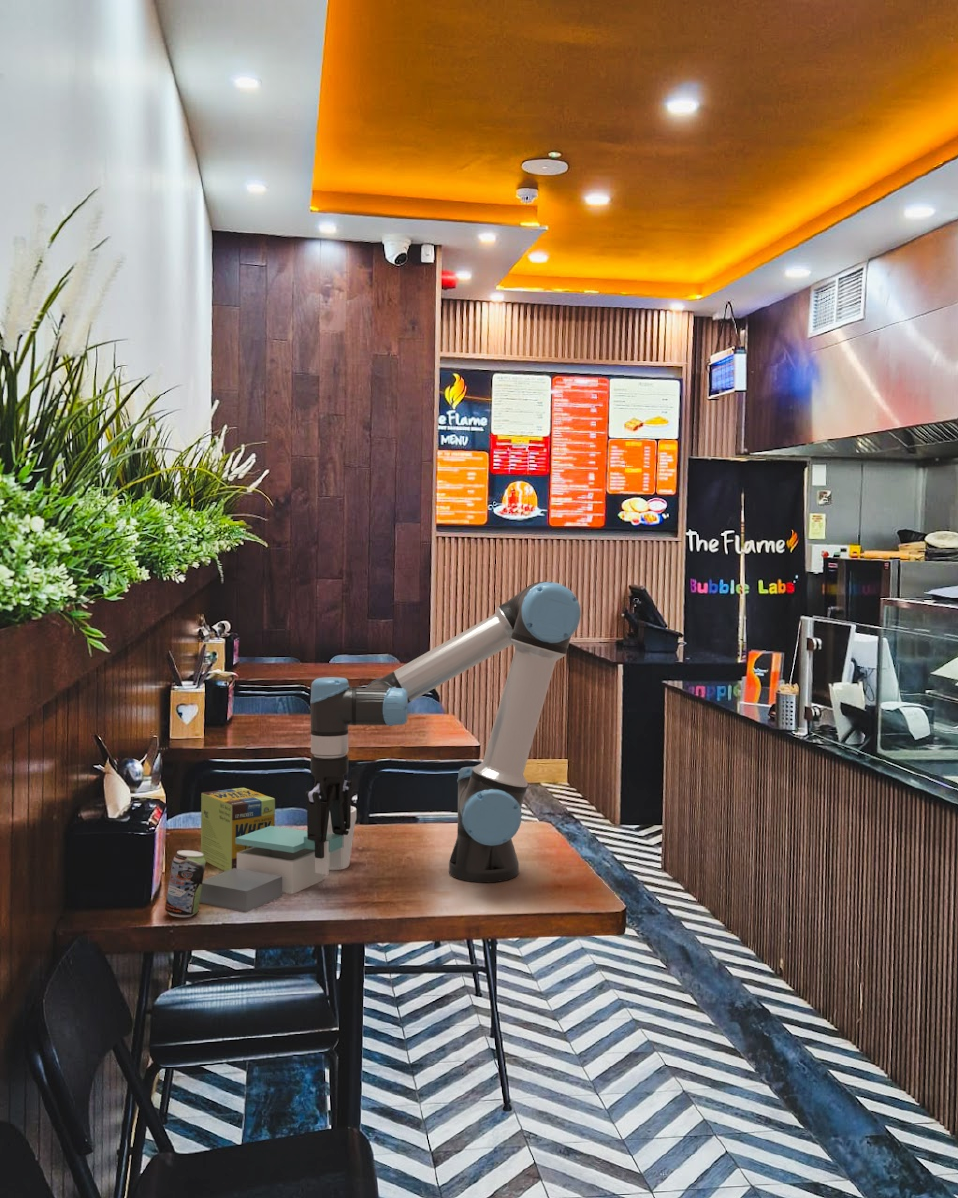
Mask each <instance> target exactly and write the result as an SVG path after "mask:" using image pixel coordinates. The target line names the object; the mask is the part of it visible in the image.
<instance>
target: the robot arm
mask: <svg viewBox="0 0 958 1198" xmlns="http://www.w3.org/2000/svg"><path fill="white" fill-rule="evenodd" d="M581 614H582V613H581V607H580V603H579V601H578V598H577V597H576V595H575V594H574V592H572V590H570V588H568V587H567V586H565V585H564V584H560V583H559V582H552V581H538V582H533V583H532V584H531V583H530V584H529V585H528V586H526V587H525V588H524V589H522V590H521V591H520V592H518V593H517V594H516V595H514V596H513V597H511V598H510V599H509V600H506V602H504V603H502V604H501V605H499V606H497V607H496V611H495V613H494V614H492V615H491V616H489V617H486V618H485V619H484V620H481V621H479V622H478V623H476V624H475V625H473V626H471V627H469V628H468V629H467V628H466V630H463V631H462V632H460V633H458V634H457V635H456V636H453V637H451V638H450V639H448V640H446V641H445V642H443V643H441V644H440V645H437V646H436V647H433V648H432V649H431V650H428V651H426V652H425V653H424V654H421V655H420V656H418V657H416V658H414V659H413V660H411V661H409V662H407V663H405V664H404V665H402V666H400V667H398V668H397V669H395V670H394V671H393V672H390V673H388V674H386V675H385V676H383V677H381V678H376V679H375V680H373V681H371V682H369V684H367V686H366V687H361V688H360V687H350V685H349V680H348V679H347V678H346V677H336V676H332V677H331V676H330V677H329V676H328V677H327V676H325V677H318V678H315V679H314V680H313V681H312V682H311V686H310V700H309V702H310V703H309V704H310V753H311V754H312V755H311V757H310V774H311V775H312V776H313V777H314V784H313V789H312V790H306V791H305V792H304V793H305V794H304V795H305V796H304V797H305V800H306V815H307V816H306V821H307V822H306V824H307V825H306V828H307V829H306V831H307V839H308V840H311V841H314V842H315V873H319V874H324V876H325V875H326V876H327V875H329V873H330V870H329V841H326V836H327V828H328V820H329V812H330V816H331V824H332V831H333V833H334V834H336V835H343V847H344V835H348V833H349V831H347V829H350V821H351V806H352V803H351V801H352V800H351V799H352V795H351V794H352V789H353V784H354V783H353V781H352V780H345V776H346V775H347V774H348V773H349V756H348V755H347V754H348V753H349V726H388V727H392V726H403V725H405V724H407V722H408V704H409V703H412V702H413V701H415V700H416V699H418V698H420V697H422V696H423V695H425V694H427V693H429V692H430V691H432V690H433V689H436V688H438V687H439V686H441V685H443V684H445V683H446V682H448V681H450V680H452V679H454V678H456V677H457V676H459V675H460V674H463V673H465V671H468V670H470V669H472V668H473V667H475V666H476V665H479V664H480V663H482V662H484V661H486V660H487V659H489V658H491V657H492V656H495V655H496V654H498V653H500V652H502V651H503V650H505V649H507V648H508V647H510V646H513V647H514V653H513V656H512V660H511V664H510V667H509V671H508V674H507V677H506V680H505V684H504V688H503V690H502V694H501V697H500V701H499V705H498V708H497V711H496V715H495V719H494V721H493V725H492V729H491V732H490V735H489V739H488V742H487V746H486V749H485V753H484V756H483V759H482V762H481V763H479V764H477V765H475V766H465V767H461V768H460V769H459V770H458V775H457V777H458V778H457V779H456V782H457V834H456V836H457V837H456V841H455V843H454V846H453V849H452V853H451V855H450V859H449V860H448V861H449V862H448V873H449V875H450V876H452V877H453V878H456V879H458V880H462V881H467V882H473V883H474V882H475V883H494V882H495V883H496V882H504V881H508V880H511V879H514V878H516V877H517V876H518V875H519V873H520V872H519V871H520V869H519V865H520V863H519V860H518V859H519V858H518V856H517V853H516V850H515V846H514V842H513V840H512V838H513V837H514V836H515V835H516V834H517V833H518V831H519V829H520V826H521V824H522V816H523V813H522V808H523V807H522V806H523V803H524V799H525V796H526V792H527V789H528V786H529V783H528V781H527V779H526V778H525V775H524V772H525V768H526V765H527V762H528V758H529V756H530V752H531V749H532V745H533V741H534V737H535V734H536V731H537V728H538V724H539V720H540V717H541V714H542V710H543V708H544V707H543V706H544V703H545V700H546V698H547V692H548V691H549V686H550V683H551V679H552V675H553V673H554V669H555V666H556V663H557V661H558V660H560V659H562V658H563V657H566V655H567V651H568V648H569V645H570V641H571V637H572V636H573V635H574V633H575V632H576V631H577V628H578V627H579V624H580V622H581ZM343 847H342V848H339V849H337V850H334V851H332V852H330V867H336V868H343Z"/></svg>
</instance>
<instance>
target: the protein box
mask: <svg viewBox="0 0 958 1198" xmlns="http://www.w3.org/2000/svg"><path fill="white" fill-rule="evenodd" d="M200 797H201V799H200V800H201V801H200V802H201V804H200V805H201V806H200V809H201V811H200V814H201V815H200V852H201V853H203V854H204V855H203V857H204V859H205V861H206V863H208V864H209V865H212V866H214V867H216V868H218V869H219V870H222V871H223V872H225V871H228V870H230V869H233V868H237V853H238V852H240V851H243V850H246V849H249V848H251V846H246V845H240V844H235V838H237V837H240V836H243V835H245V834H248V833H251V832H254V831H257V830H260V829H263V828H266V827H268V826H275V824H276V822H275V821H276V816H275V815H276V798H274V797H271V796H268V795H265V794H263V793H260V792H257V791H254V790H251V789H249V788H246V787H238V788H229V789H222V790H213V791H212V790H211V791H203V792H201V796H200Z"/></svg>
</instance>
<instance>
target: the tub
mask: <svg viewBox="0 0 958 1198" xmlns="http://www.w3.org/2000/svg"><path fill="white" fill-rule="evenodd" d="M237 869H243V870H249V871H254V872H260V873H266V874H272V875H277V876H282V894H290V895H294V894H296V893H298V892H300V891H303V890H305V889H307V888H311V886H313V885H316V884H319V883H320V882H321V883H322V881H324V880H325V874H319V873H315V850H311V849H305V848H304V849H302V850H299V851H297V852H294V853H290V852H283V851H277V850H270V849H264V848H257V847H251V848H249V849H246V850H243V851H240V852H238V853H237Z"/></svg>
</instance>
